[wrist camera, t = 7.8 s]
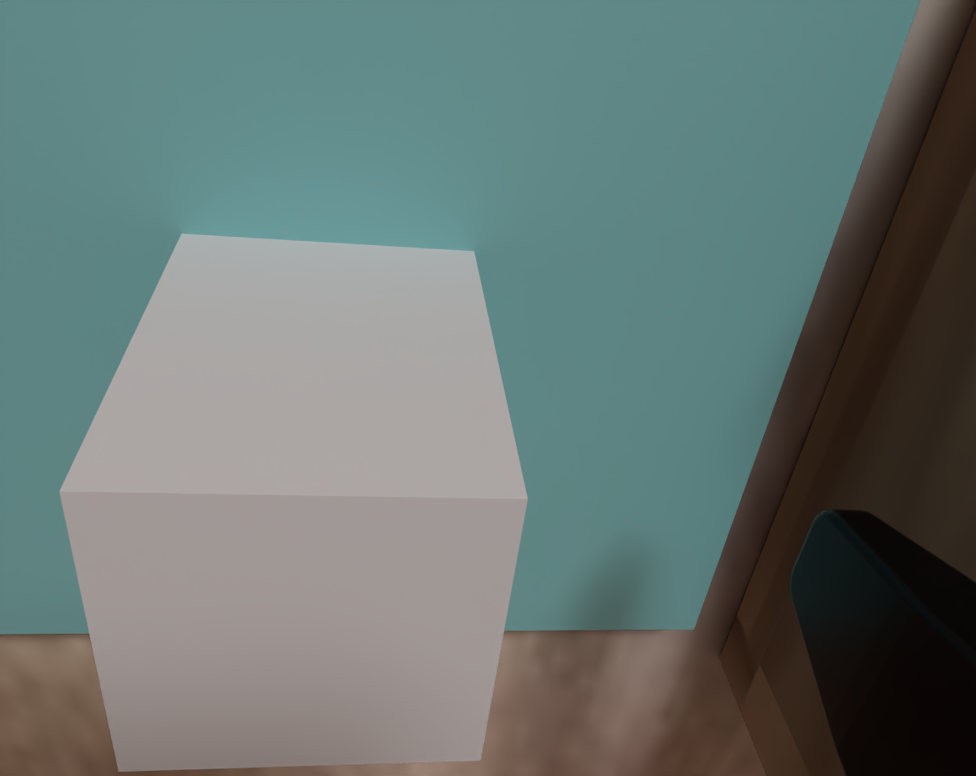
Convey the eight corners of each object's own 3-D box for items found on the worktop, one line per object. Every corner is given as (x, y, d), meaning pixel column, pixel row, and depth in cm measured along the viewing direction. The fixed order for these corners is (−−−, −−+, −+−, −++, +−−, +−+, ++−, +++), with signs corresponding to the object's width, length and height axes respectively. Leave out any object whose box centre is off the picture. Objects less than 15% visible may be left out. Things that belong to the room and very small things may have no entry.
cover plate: (-56, 568, 12) (-289, 972, 8) (-300, -172, 7) (-1235, -152, 3) (671, 571, 14) (801, 907, 10) (866, -34, 9) (1303, 103, 5)
